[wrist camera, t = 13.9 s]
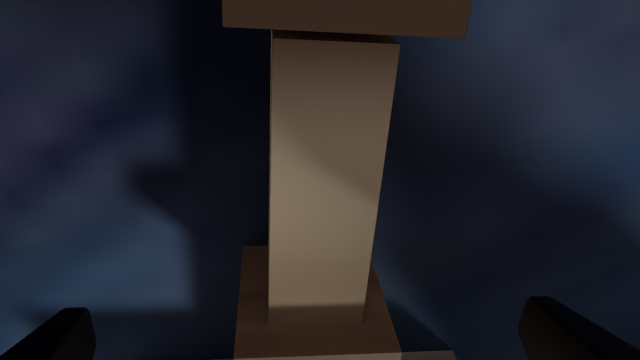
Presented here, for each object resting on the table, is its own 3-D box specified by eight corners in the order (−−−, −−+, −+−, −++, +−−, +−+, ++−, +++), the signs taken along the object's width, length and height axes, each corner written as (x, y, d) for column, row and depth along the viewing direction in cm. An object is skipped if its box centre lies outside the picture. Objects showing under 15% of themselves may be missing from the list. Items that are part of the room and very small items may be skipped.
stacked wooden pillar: (57, -68, 10) (-83, -81, 6) (554, -32, 11) (707, -24, 8) (136, 389, 17) (94, 526, 13) (445, 375, 18) (496, 494, 14)
